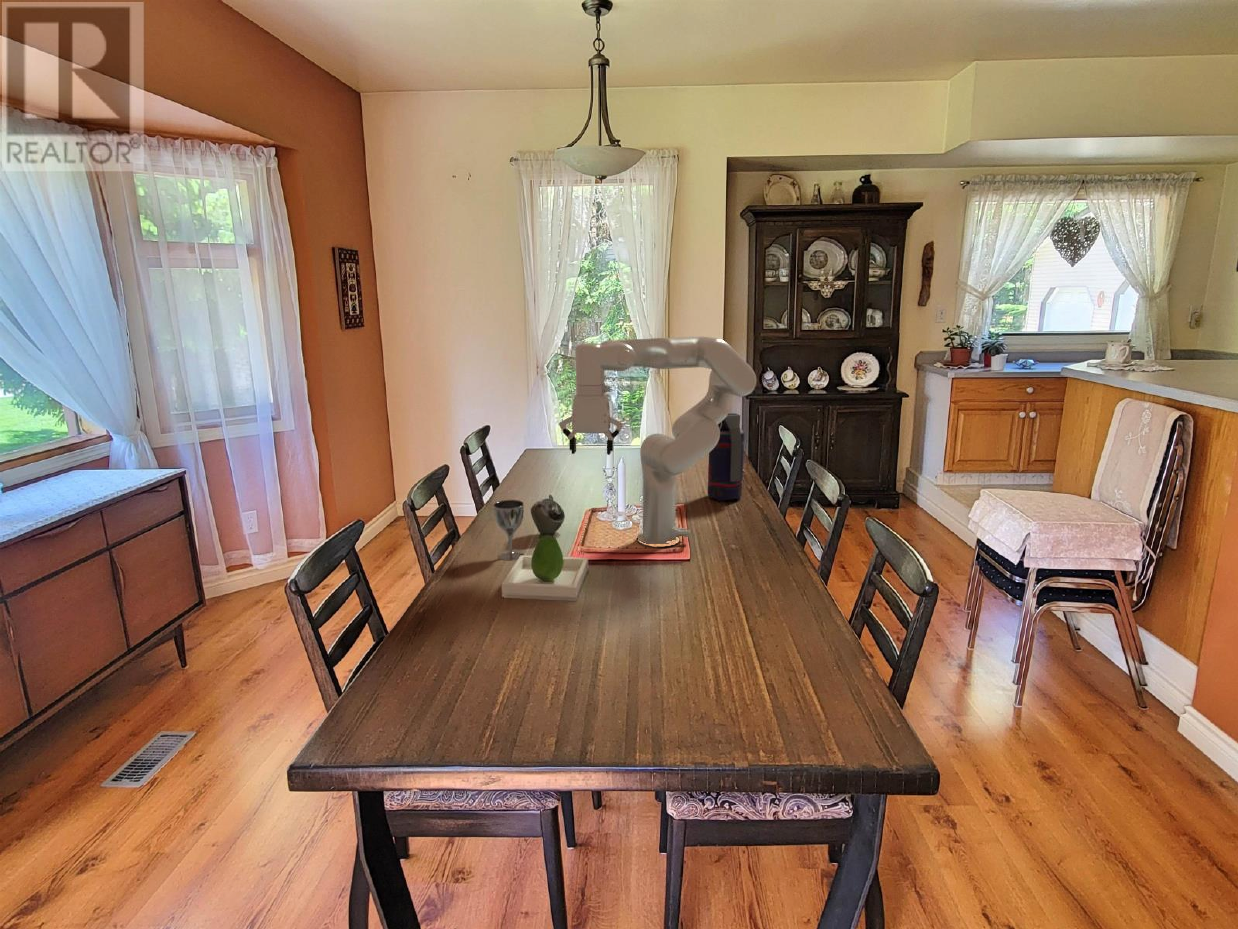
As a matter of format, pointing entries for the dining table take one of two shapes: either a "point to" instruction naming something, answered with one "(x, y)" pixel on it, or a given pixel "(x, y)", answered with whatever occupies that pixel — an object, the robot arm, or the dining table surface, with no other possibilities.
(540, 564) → the avocado
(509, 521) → the wine glass
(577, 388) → the robot arm
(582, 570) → the tray
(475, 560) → the dining table surface
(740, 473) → the grenade
